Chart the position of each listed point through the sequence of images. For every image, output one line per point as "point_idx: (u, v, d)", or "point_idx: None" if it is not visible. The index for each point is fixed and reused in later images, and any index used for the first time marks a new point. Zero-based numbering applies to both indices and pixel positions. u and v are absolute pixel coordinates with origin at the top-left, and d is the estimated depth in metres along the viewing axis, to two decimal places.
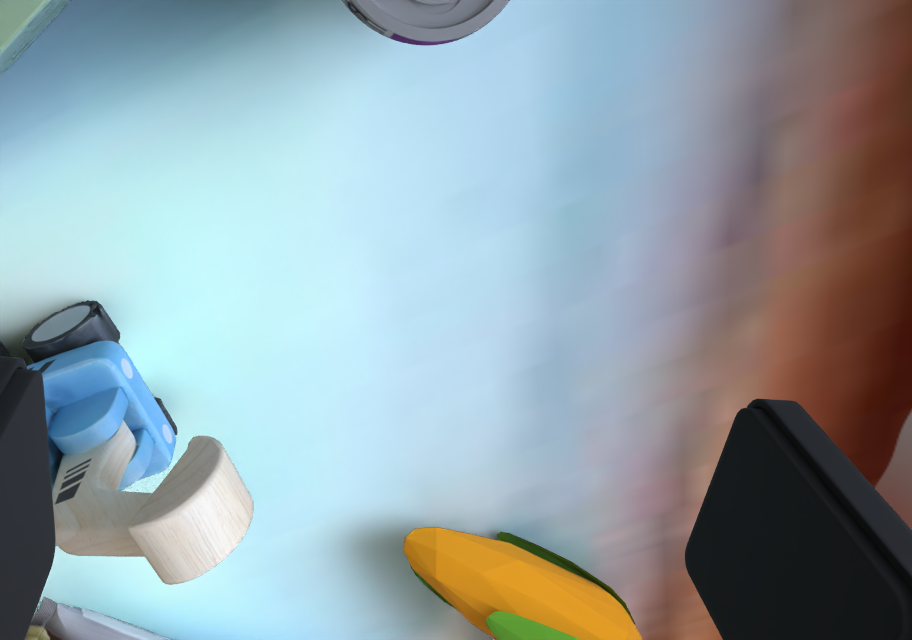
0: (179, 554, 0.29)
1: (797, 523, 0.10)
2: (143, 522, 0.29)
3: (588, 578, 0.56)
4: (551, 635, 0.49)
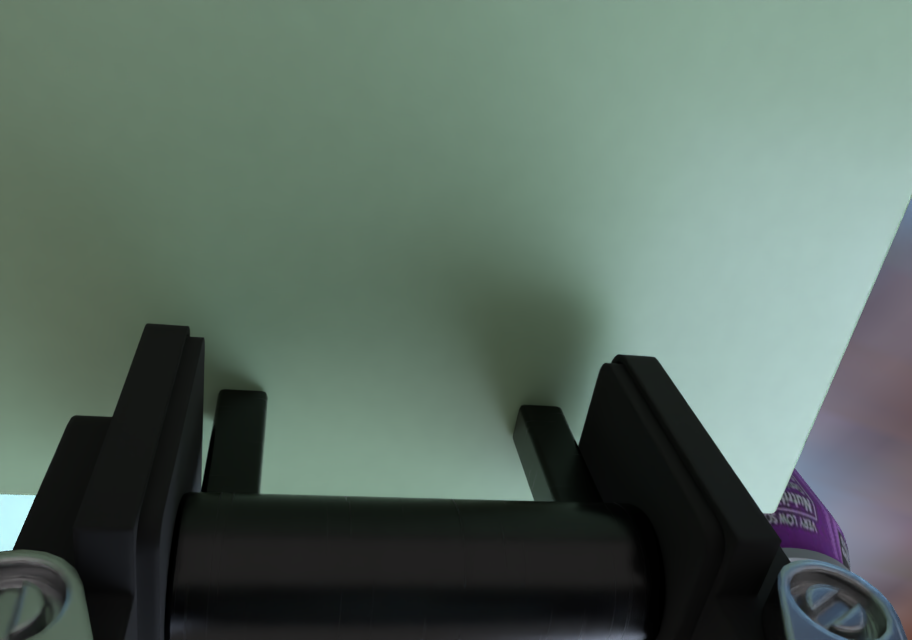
0: None
1: (638, 467, 0.11)
2: None
3: None
4: None
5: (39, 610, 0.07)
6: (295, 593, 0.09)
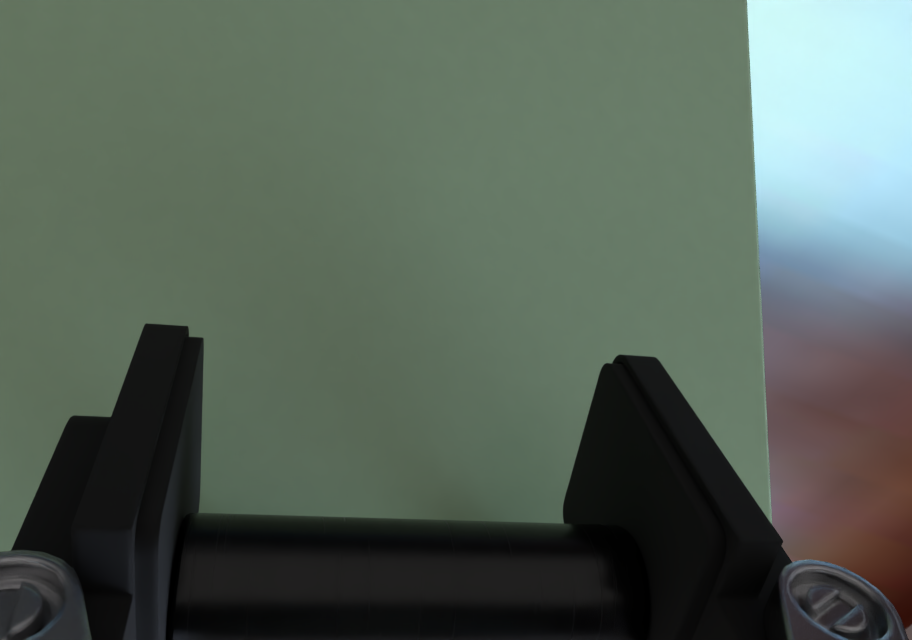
0: None
1: (639, 467, 0.11)
2: None
3: None
4: None
5: (37, 610, 0.07)
6: (296, 554, 0.09)
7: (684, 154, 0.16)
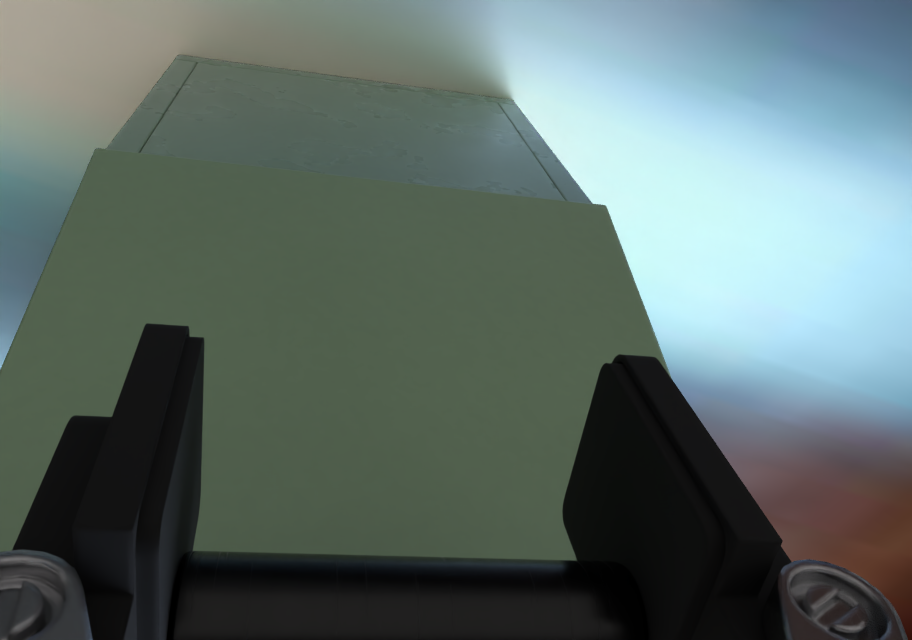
0: None
1: (638, 467, 0.11)
2: None
3: None
4: None
5: (38, 610, 0.07)
6: (295, 560, 0.10)
7: None
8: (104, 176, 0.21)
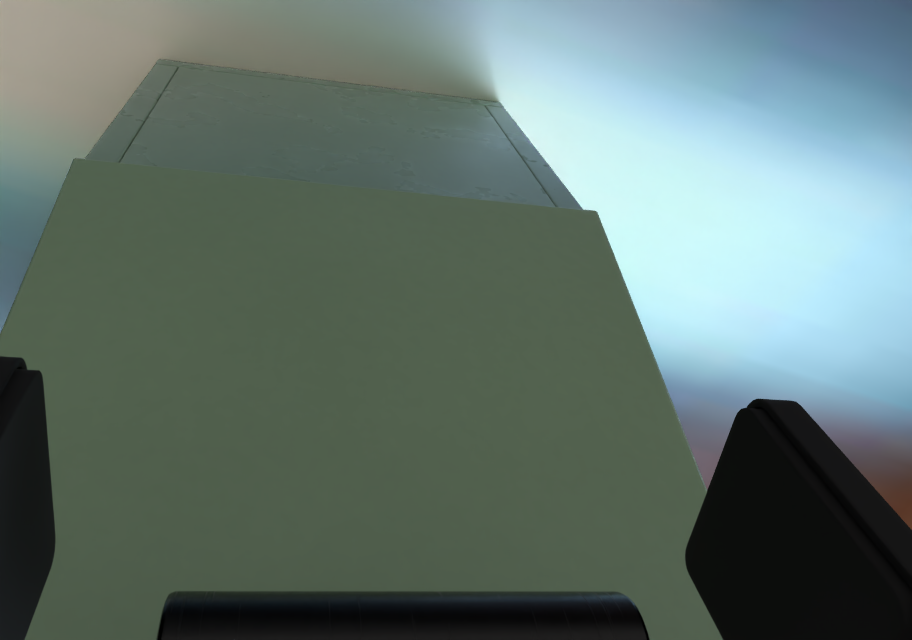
0: None
1: (797, 523, 0.10)
2: None
3: None
4: None
5: None
6: (285, 600, 0.09)
7: (606, 389, 0.19)
8: (83, 187, 0.21)
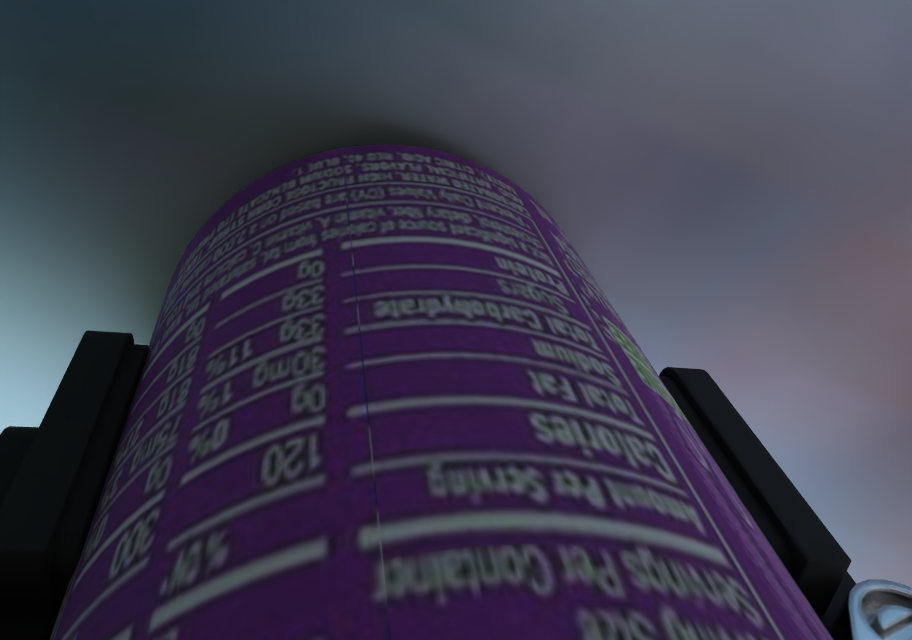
0: None
1: None
2: None
3: None
4: None
5: None
6: None
7: None
8: None
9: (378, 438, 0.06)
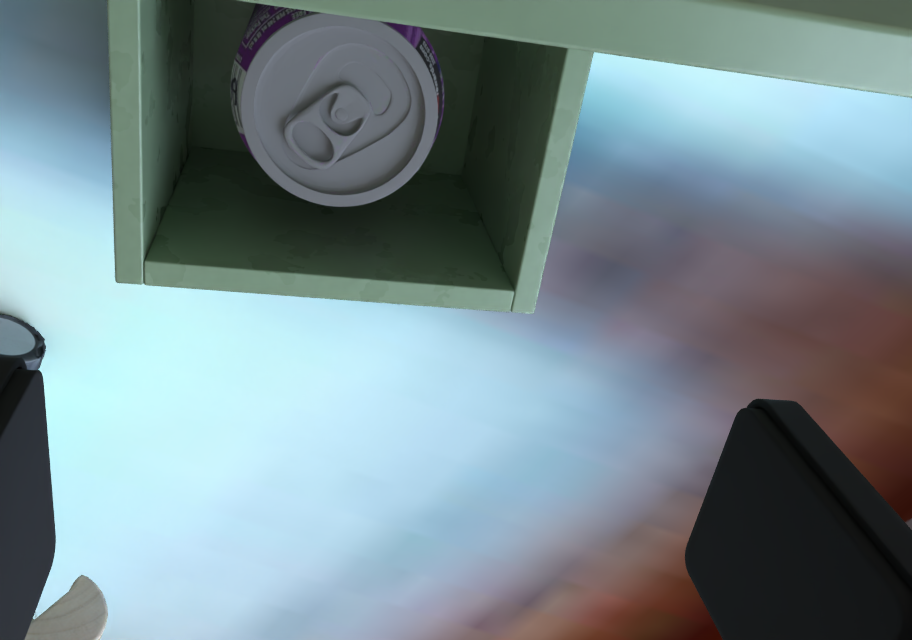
0: None
1: (797, 523, 0.10)
2: None
3: None
4: None
5: None
6: None
7: None
8: None
9: None
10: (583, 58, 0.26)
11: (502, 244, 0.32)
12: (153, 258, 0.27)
